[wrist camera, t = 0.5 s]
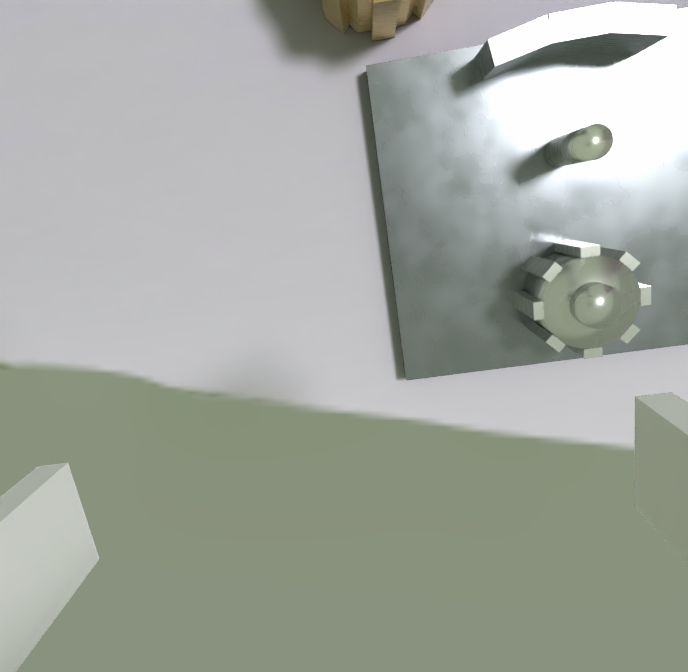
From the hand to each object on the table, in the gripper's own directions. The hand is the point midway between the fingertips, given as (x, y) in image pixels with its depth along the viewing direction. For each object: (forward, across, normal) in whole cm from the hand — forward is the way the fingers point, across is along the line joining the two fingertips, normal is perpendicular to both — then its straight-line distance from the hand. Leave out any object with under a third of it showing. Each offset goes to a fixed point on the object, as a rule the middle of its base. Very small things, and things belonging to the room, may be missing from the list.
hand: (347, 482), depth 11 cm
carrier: (+24, +13, +4) cm, 28 cm away
